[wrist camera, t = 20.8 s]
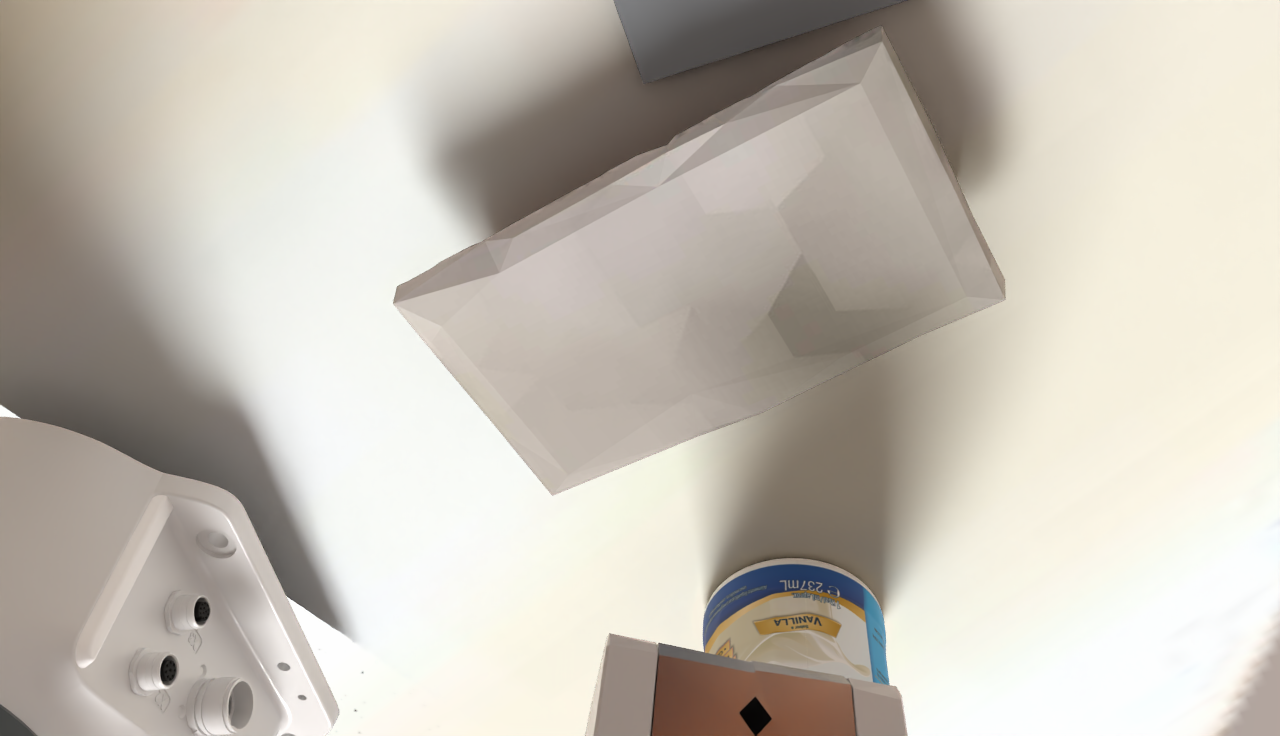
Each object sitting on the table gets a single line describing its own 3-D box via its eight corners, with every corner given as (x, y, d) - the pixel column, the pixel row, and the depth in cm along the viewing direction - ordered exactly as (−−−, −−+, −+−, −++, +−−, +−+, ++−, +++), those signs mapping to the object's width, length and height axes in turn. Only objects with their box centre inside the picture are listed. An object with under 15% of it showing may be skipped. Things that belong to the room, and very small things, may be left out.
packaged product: (988, 238, 38) (870, -14, 33) (1018, 308, 34) (887, 33, 29) (566, 428, 44) (418, 238, 39) (548, 506, 40) (382, 304, 35)
